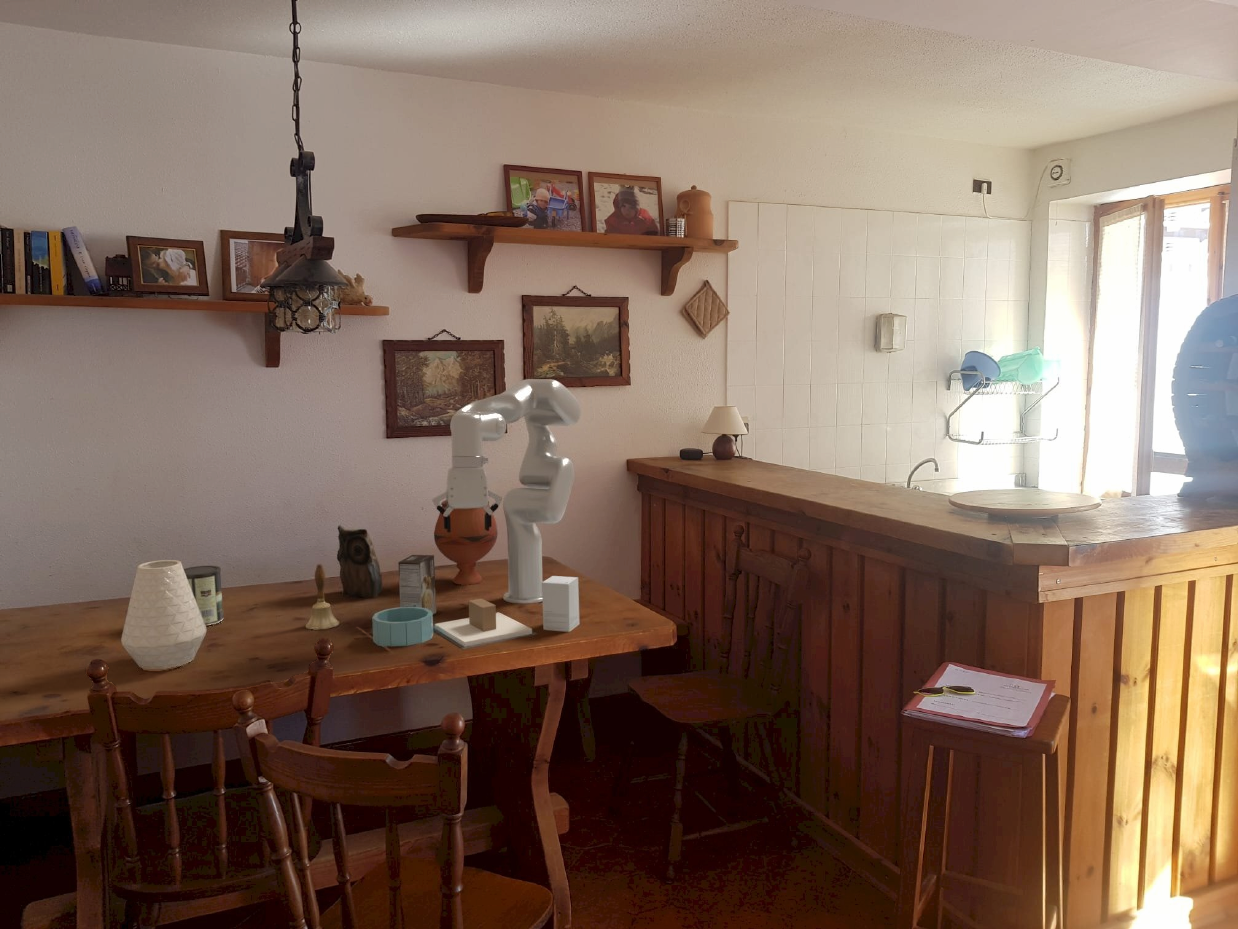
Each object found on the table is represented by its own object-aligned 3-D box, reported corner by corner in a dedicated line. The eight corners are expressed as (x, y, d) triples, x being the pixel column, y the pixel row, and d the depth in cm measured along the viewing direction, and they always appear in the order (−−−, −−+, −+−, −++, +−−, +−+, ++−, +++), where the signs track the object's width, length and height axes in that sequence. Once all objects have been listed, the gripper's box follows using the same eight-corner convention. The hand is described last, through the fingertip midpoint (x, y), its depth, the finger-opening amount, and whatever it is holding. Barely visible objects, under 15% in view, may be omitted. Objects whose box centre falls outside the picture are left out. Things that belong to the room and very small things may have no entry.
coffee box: (414, 612, 254) (412, 554, 252) (436, 613, 253) (434, 554, 251) (400, 622, 245) (397, 561, 243) (423, 623, 244) (421, 562, 242)
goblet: (442, 592, 275) (439, 507, 271) (430, 577, 292) (427, 498, 289) (506, 585, 281) (504, 503, 278) (490, 571, 299) (488, 494, 296)
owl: (376, 599, 268) (373, 530, 265) (331, 600, 267) (328, 530, 264) (384, 587, 280) (382, 521, 278) (341, 589, 279) (338, 522, 277)
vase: (216, 665, 212) (209, 565, 209) (130, 682, 202) (122, 577, 199) (199, 646, 226) (192, 552, 224) (118, 660, 216) (110, 562, 214)
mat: (500, 616, 249) (500, 615, 249) (537, 635, 232) (537, 633, 232) (429, 629, 238) (429, 628, 238) (462, 650, 221) (462, 649, 221)
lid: (498, 616, 248) (498, 590, 247) (531, 633, 233) (531, 605, 232) (434, 628, 238) (433, 600, 237) (464, 647, 223) (464, 617, 222)
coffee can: (204, 615, 253) (201, 563, 251) (232, 619, 249) (229, 567, 247) (171, 625, 244) (168, 572, 242) (200, 630, 239) (197, 576, 238)
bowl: (419, 626, 241) (418, 604, 240) (441, 640, 229) (440, 616, 228) (366, 636, 233) (365, 612, 232) (386, 651, 221) (385, 626, 221)
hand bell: (301, 624, 244) (298, 564, 242) (332, 619, 249) (329, 559, 247) (311, 632, 237) (308, 570, 235) (343, 626, 242) (341, 565, 240)
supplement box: (580, 625, 241) (579, 577, 239) (569, 633, 234) (568, 584, 232) (553, 622, 243) (552, 575, 242) (542, 631, 236) (541, 581, 235)
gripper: (499, 461, 241) (499, 527, 242) (430, 462, 236) (431, 530, 237) (504, 463, 233) (504, 531, 235) (433, 465, 229) (434, 534, 230)
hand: (467, 531), depth 236 cm, fingers open, 9 cm apart
